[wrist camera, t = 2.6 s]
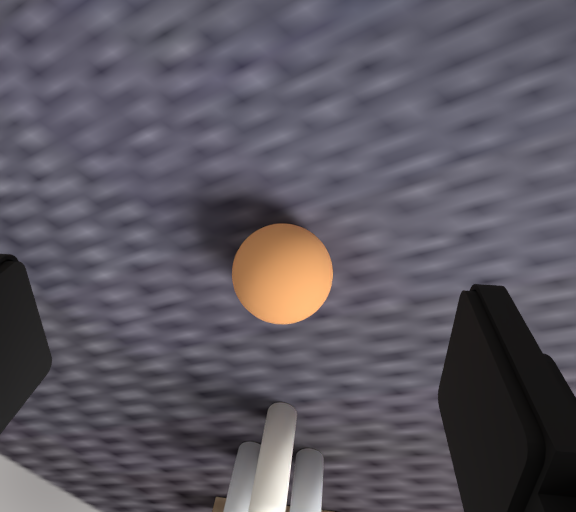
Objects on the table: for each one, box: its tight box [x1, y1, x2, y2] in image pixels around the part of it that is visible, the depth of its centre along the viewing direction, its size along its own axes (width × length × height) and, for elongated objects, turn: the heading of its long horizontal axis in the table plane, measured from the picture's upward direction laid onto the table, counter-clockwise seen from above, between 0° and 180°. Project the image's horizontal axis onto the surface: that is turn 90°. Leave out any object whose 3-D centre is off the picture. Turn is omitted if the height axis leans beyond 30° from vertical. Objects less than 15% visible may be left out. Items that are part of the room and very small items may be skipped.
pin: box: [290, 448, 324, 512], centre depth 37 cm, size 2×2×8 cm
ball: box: [232, 223, 333, 324], centre depth 28 cm, size 6×6×6 cm
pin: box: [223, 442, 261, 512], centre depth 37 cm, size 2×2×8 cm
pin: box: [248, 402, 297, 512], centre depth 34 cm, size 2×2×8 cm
